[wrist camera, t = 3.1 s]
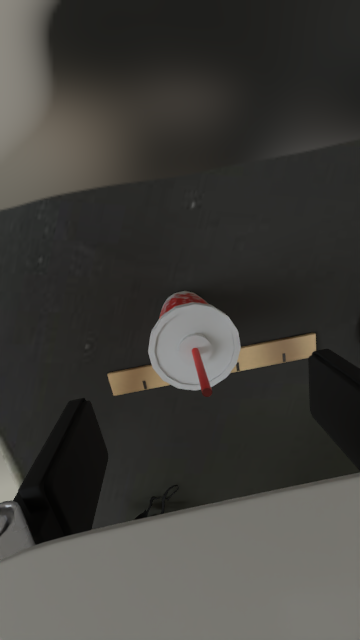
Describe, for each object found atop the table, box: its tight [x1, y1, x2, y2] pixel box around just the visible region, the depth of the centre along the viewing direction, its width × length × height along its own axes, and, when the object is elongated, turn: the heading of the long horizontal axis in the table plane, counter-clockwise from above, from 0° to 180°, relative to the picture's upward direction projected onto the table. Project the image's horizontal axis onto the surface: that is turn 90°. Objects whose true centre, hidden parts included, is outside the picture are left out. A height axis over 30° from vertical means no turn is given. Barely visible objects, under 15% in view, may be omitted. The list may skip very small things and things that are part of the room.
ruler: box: [107, 333, 316, 396], centre depth 27 cm, size 22×3×1 cm, turn 100°
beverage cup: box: [148, 291, 241, 397], centre depth 19 cm, size 6×6×14 cm
